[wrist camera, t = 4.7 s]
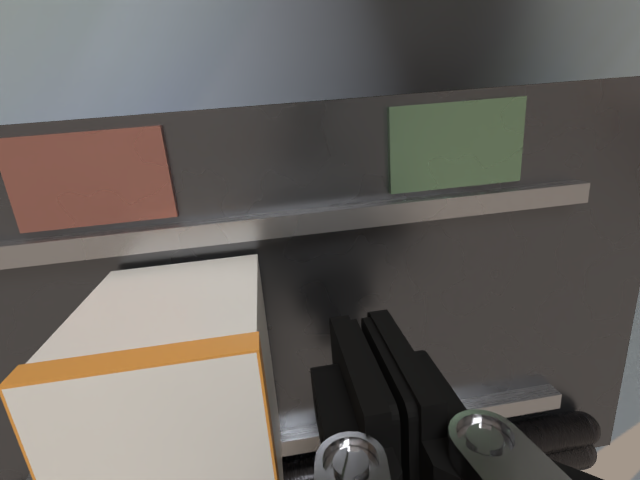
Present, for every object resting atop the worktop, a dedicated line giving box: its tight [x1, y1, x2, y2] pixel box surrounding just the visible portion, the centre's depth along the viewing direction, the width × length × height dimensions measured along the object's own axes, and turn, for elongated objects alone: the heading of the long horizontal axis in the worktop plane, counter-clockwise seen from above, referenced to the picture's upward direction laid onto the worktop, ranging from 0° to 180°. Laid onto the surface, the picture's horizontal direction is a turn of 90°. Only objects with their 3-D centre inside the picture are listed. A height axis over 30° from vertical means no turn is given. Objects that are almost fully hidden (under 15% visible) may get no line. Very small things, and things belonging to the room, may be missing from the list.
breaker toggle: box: [0, 254, 283, 480], centre depth 10 cm, size 4×6×5 cm
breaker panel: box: [0, 76, 640, 480], centre depth 14 cm, size 24×14×5 cm, turn 94°
